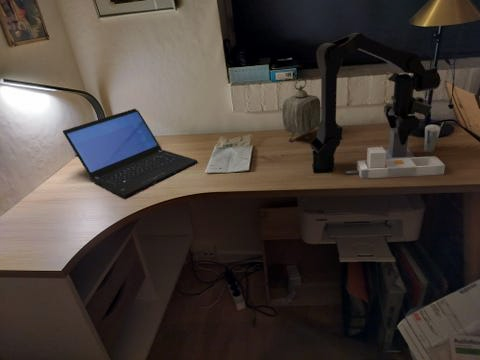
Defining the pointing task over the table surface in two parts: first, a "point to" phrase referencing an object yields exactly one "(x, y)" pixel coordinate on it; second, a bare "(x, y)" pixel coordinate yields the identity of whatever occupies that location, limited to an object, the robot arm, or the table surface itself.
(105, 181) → the laptop
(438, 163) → the power strip
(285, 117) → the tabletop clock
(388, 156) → the slate mat
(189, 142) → the table surface
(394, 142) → the grey rectangular block
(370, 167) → the block
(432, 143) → the milkshake
